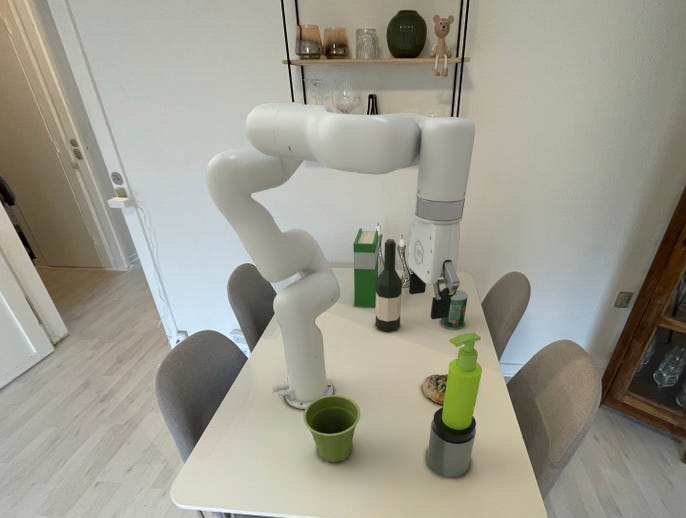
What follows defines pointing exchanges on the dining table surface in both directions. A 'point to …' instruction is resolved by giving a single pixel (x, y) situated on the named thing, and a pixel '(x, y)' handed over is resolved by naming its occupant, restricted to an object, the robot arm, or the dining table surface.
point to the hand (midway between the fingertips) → (427, 304)
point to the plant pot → (332, 425)
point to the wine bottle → (388, 292)
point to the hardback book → (366, 267)
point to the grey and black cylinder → (450, 447)
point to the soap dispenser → (462, 383)
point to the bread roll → (435, 387)
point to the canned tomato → (456, 311)
